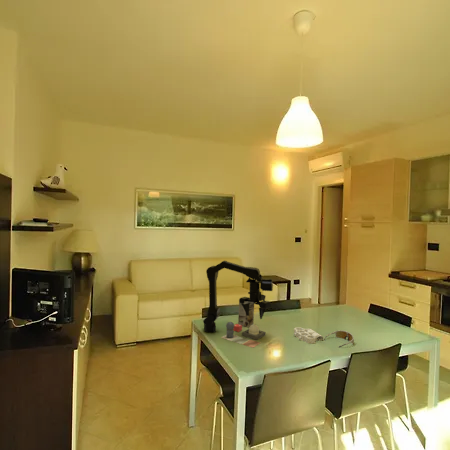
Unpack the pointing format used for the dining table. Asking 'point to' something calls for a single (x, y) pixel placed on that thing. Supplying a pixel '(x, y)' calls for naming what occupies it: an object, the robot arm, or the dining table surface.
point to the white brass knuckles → (307, 335)
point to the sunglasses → (343, 336)
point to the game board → (242, 341)
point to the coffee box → (244, 319)
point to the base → (255, 337)
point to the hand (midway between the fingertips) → (254, 317)
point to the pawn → (230, 329)
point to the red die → (237, 327)
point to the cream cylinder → (254, 329)
